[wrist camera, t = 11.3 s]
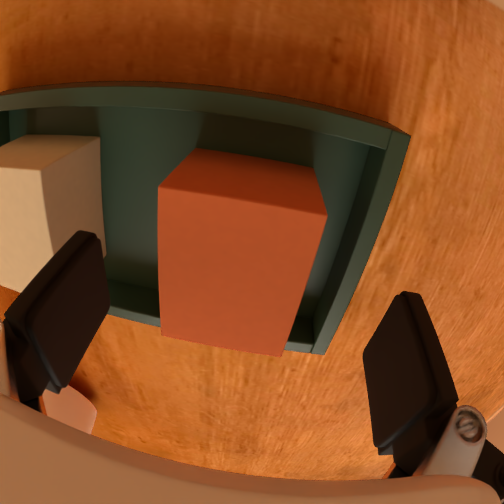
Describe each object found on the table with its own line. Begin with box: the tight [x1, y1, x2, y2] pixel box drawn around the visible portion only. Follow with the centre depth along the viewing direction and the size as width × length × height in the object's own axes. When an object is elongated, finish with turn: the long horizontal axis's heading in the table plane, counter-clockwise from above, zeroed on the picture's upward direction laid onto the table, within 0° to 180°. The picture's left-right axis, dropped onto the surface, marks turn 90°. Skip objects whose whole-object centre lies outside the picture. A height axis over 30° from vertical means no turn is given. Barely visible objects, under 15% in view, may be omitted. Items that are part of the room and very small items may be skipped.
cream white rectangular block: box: [0, 135, 107, 293], centre depth 12 cm, size 5×6×4 cm
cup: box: [42, 385, 97, 434], centre depth 21 cm, size 8×8×14 cm
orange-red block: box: [158, 148, 328, 357], centre depth 12 cm, size 5×6×4 cm
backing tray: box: [0, 81, 411, 355], centre depth 14 cm, size 20×12×3 cm, turn 81°
